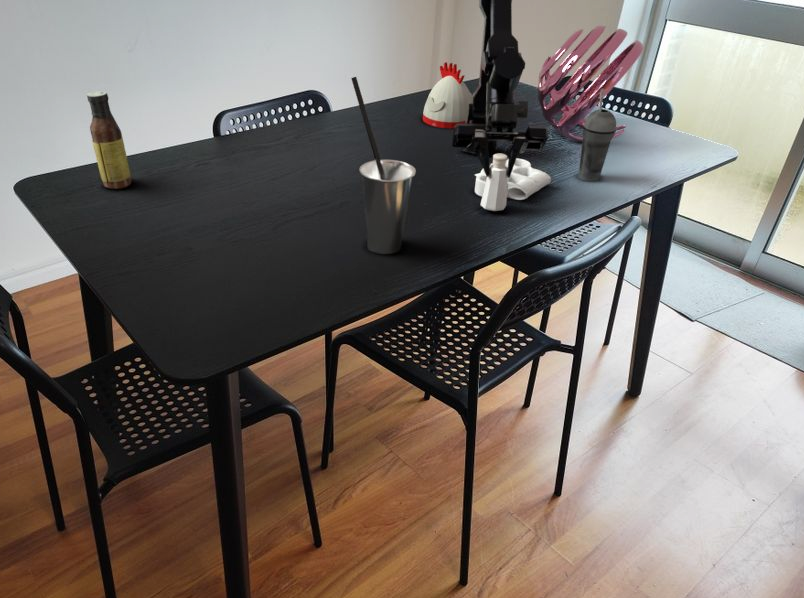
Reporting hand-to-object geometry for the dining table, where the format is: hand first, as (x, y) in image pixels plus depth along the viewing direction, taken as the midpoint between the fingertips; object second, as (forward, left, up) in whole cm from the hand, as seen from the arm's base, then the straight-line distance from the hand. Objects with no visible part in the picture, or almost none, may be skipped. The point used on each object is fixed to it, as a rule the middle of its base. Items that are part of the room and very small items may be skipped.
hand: (498, 176), depth 144 cm
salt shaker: (-1, +1, -7) cm, 7 cm away
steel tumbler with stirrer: (-11, -26, -8) cm, 30 cm away
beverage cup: (+10, +31, -8) cm, 33 cm away
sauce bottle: (-74, -36, -8) cm, 83 cm away
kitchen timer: (-36, +48, -8) cm, 60 cm away
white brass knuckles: (-3, +15, -8) cm, 17 cm away
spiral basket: (-3, +59, -8) cm, 59 cm away
